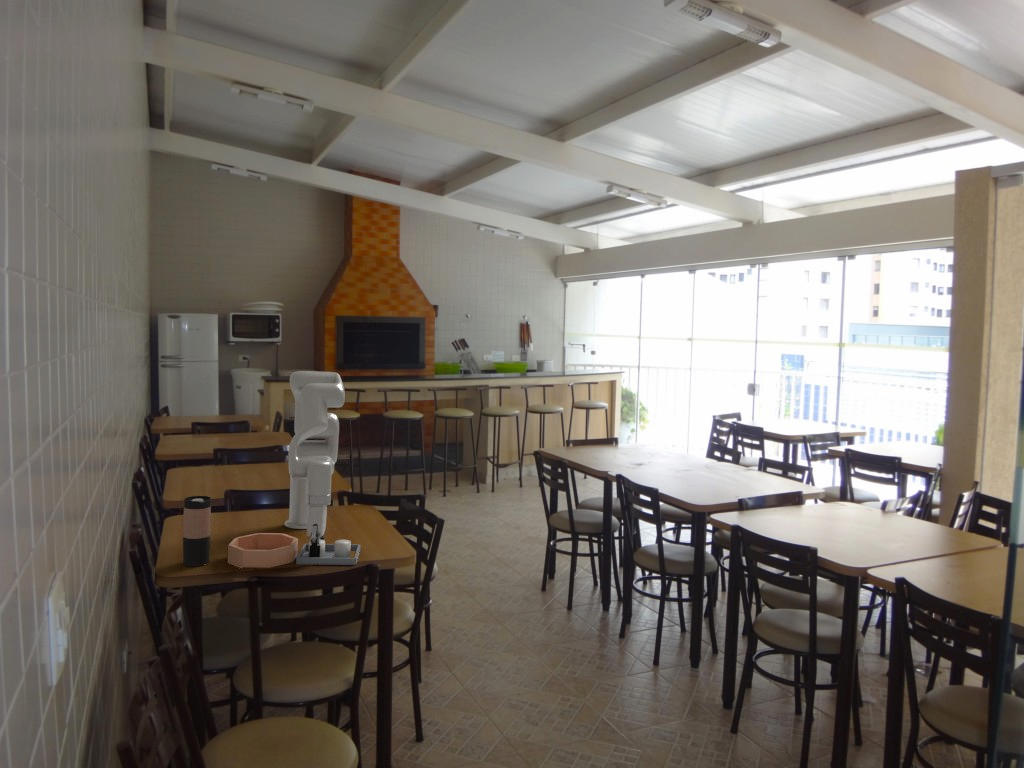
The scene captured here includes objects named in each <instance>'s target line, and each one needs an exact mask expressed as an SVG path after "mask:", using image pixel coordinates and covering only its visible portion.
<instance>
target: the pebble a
mask: <svg viewBox="0 0 1024 768" xmlns="http://www.w3.org/2000/svg"><path fill="white" fill-rule="evenodd" d="M317 541H318V539H317ZM308 544H309V548H310V540H309V541H308ZM325 544H326V540H325V539H324V540H321V539H320V544H319V545H320V557H325ZM308 557H309V552H308Z"/></svg>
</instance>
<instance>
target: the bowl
mask: <svg viewBox="0 0 1024 768" xmlns="http://www.w3.org/2000/svg"><path fill="white" fill-rule="evenodd" d="M298 554H299V538H298V537H294V536H292V535H290V534H286V533H278V532H277V533H276V532H275V533H274V532H257V533H251V534H246V535H242V536H237V537H234V538H233V539H232V541H230V542H229V544H228V545H227V564H228V563H230V564H232V565H234V566H233V567H235V566H237V567H240V568H241V569H240V568H239V569H240V570H242V569H244V568H269V569H270V568H274V567H277V566H281V565H286V564H287V565H288V564H290V563H294V561H296V558H297V556H298ZM230 564H229V565H230ZM232 565H231V566H232ZM237 567H236V568H237Z"/></svg>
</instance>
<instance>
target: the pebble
mask: <svg viewBox="0 0 1024 768" xmlns="http://www.w3.org/2000/svg"><path fill="white" fill-rule="evenodd" d="M351 541H352V540H349V539H337V540H335V541H334V544H335V548H334V558H350V551H351V544H352V542H351Z"/></svg>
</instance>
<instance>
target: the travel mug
mask: <svg viewBox="0 0 1024 768" xmlns="http://www.w3.org/2000/svg"><path fill="white" fill-rule="evenodd" d="M211 504H212V499H211V497H210V496H207V495H192V496H187V497H185V498H184V499H183V525H182V549H183V550H182V553H183V554H182V557H183V559H182V561H183V562H182V564H183V565H184V566H185V565H186V566H185V567H188V566H199V567H202V566H201V565H204V564H206V565H208V564H209V563H208V562H210V552H211V551H210V549H211V547H210V546H211V528H212V527H211V526H212V525H211V515H212V513H211V512H212V511H211V510H212V505H211ZM207 563H208V564H207ZM204 566H205V565H204Z"/></svg>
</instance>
